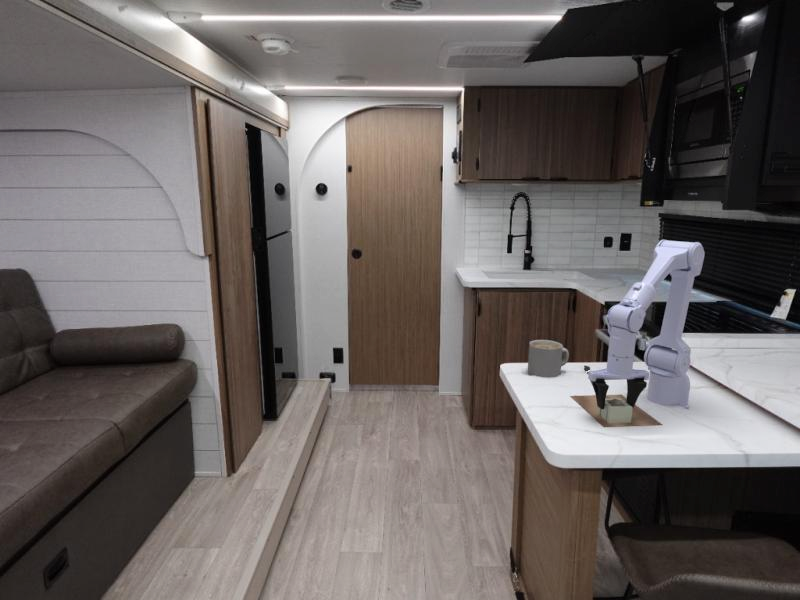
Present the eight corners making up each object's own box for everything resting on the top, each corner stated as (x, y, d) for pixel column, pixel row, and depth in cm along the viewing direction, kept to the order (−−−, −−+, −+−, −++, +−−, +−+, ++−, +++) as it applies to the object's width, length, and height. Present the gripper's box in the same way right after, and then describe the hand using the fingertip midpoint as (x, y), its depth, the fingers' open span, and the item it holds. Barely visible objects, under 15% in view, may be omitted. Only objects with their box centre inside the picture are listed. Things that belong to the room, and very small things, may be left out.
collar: (618, 413, 127) (620, 398, 126) (630, 422, 121) (632, 407, 121) (597, 413, 126) (599, 398, 126) (608, 423, 121) (610, 408, 120)
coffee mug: (535, 381, 151) (537, 349, 149) (522, 370, 161) (524, 340, 159) (576, 379, 153) (579, 348, 151) (561, 368, 163) (564, 339, 161)
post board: (621, 397, 139) (623, 377, 138) (662, 428, 121) (665, 405, 119) (569, 399, 138) (571, 378, 136) (603, 431, 119) (605, 407, 118)
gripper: (639, 348, 125) (634, 399, 128) (584, 350, 124) (579, 401, 126) (656, 357, 118) (650, 411, 121) (598, 359, 117) (593, 413, 120)
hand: (615, 407), depth 123 cm, fingers open, 7 cm apart
